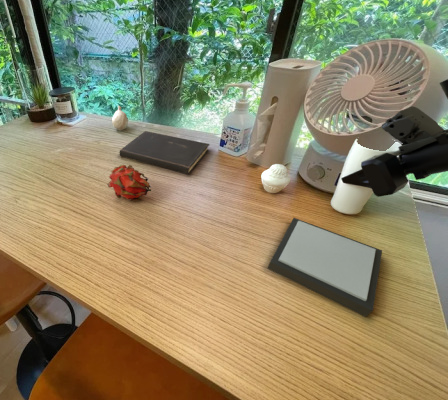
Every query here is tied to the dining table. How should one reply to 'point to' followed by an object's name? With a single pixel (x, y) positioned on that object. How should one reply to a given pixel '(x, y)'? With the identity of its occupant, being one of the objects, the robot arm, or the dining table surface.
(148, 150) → the hardcover book
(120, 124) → the garlic bulb
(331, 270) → the scale
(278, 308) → the dining table surface
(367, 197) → the white cup
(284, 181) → the muffin
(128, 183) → the dragon fruit
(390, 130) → the robot arm
